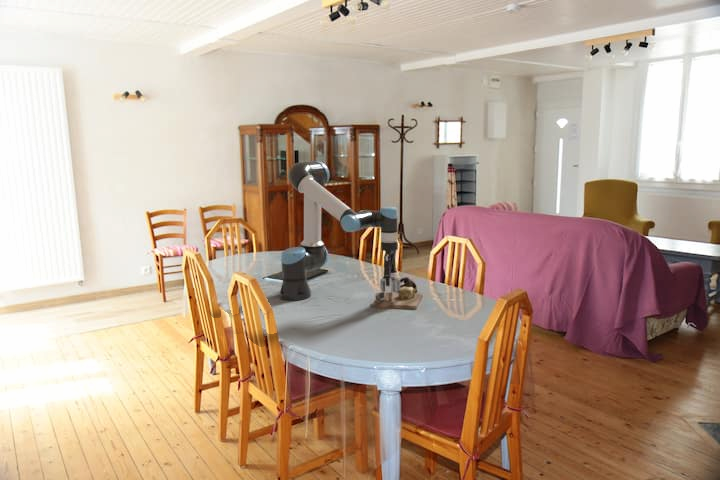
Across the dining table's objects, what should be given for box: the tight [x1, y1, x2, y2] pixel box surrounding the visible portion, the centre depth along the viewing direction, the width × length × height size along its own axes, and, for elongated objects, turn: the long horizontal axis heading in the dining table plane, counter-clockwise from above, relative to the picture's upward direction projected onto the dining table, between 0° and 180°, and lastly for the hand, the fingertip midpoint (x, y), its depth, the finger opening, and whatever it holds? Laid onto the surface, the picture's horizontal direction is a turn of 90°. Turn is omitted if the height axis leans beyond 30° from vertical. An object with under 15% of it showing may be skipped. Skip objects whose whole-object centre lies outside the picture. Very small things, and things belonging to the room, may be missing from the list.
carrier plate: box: [371, 287, 424, 310], centre depth 259 cm, size 20×20×6 cm
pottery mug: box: [397, 276, 418, 293], centre depth 276 cm, size 12×10×8 cm
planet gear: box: [379, 277, 401, 293], centre depth 255 cm, size 9×9×5 cm
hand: (390, 289), depth 256 cm, fingers closed on planet gear, 9 cm apart
